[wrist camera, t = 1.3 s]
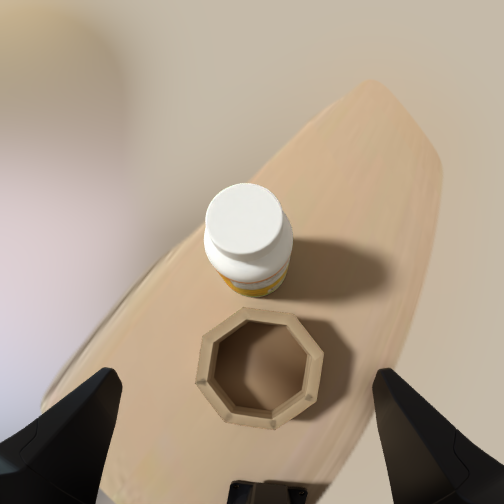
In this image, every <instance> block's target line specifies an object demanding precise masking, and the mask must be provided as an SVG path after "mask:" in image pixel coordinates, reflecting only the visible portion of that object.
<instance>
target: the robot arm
mask: <svg viewBox="0 0 504 504" xmlns="http://www.w3.org/2000/svg"><path fill="white" fill-rule="evenodd" d="M372 391H373V397H374V404H375V412H376V420H377V427H378V432H379V436H380V440H381V444H382V449H383V453H384V457H385V462H386V466H387V471H388V476H389V481H390V486H391V491H392V496H393V501H394V504H504V465H503V464H501V463H499V462H498V461H497V460H495V459H494V458H493V457H491V456H489V455H488V454H487V453H485V452H484V451H483V450H481V449H480V448H479V447H477V446H476V445H475V444H473V443H472V442H471V441H470V440H469V439H468V438H466V437H465V436H464V435H463V434H462V433H461V432H460V431H459V430H458V429H456V428H455V427H454V426H453V425H452V424H451V423H450V422H449V421H448V420H447V419H446V418H445V417H444V416H443V415H441V414H440V413H439V412H438V411H437V410H436V409H435V408H434V407H433V406H432V405H430V403H428V402H427V401H426V400H425V399H424V398H423V397H422V396H420V394H419V393H417V392H416V391H415V390H414V389H413V388H412V387H411V386H410V385H409V384H408V383H407V382H406V381H404V380H403V379H402V378H401V377H400V376H399V375H398V374H397V373H396V372H395V371H394V370H392V369H391V368H383V369H379V370H378V372H377V374H376V377H375V380H374V382H373V386H372ZM121 393H122V382H121V380H120V379H119V377H118V375H117V373H116V371H115V370H114V369H112V368H107V367H104V368H102V369H100V370H99V371H98V372H97V373H95V374H94V375H93V376H91V377H90V378H89V379H87V380H86V381H85V382H84V383H82V384H81V385H80V386H78V387H77V388H76V389H74V390H73V391H72V392H71V393H69V394H68V395H67V396H65V397H64V398H63V399H61V400H60V401H59V402H58V403H56V404H55V405H54V406H52V407H51V408H50V409H49V410H47V411H46V412H45V413H43V414H42V415H41V416H39V418H37V419H35V420H34V421H33V422H32V423H30V424H29V425H28V426H26V427H25V428H24V429H22V430H20V431H19V432H17V433H16V434H14V435H13V436H11V437H9V438H8V439H6V440H4V441H3V442H1V443H0V504H95V503H96V498H97V494H98V489H99V485H100V481H101V476H102V472H103V468H104V464H105V460H106V457H107V453H108V449H109V445H110V442H111V438H112V435H113V431H114V428H115V424H116V420H117V414H118V409H119V403H120V398H121ZM234 485H238V486H239V487H235V486H234ZM300 492H304V493H303V494H299V493H300ZM307 494H308V492H307V489H306V488H301V487H286V486H285V485H274V484H265V483H249V482H242V481H233V482H231V485H230V489H229V495H228V500H227V504H305V501H306V498H307Z"/></svg>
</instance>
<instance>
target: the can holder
mask: <svg viewBox="0 0 504 504" xmlns="http://www.w3.org/2000/svg"><path fill="white" fill-rule="evenodd" d="M323 357H324V352H323V351H322V350H321V348H320V347H319V346H318V345H317V343H316V342H315V341H314V340H313V338H312V337H311V336H310V334H309V333H308V332H307V331H306V329H305V328H304V327H303V325H302V324H301V323H300V322H299V320H298V319H297V318H296V316H295V315H294V314H290V313H282V312H274V311H267V310H260V309H253V308H246V307H243V308H241V309H240V310H239V311H237V312H236V313H234V314H233V315H232V316H230V317H229V318H227V319H226V320H225V321H223V322H222V323H220V324H219V325H218V326H216V327H215V328H213V329H212V330H210V331H209V332H208V333H206V334H205V335H203V337H202V343H201V349H200V355H199V362H198V368H197V374H196V381H195V384H196V385H197V387H198V388H199V389H200V391H201V392H202V394H203V395H204V396H205V398H206V399H207V400H208V402H209V403H210V404H211V405H212V407H213V408H214V409H215V411H216V412H217V413H218V415H219V416H220V417H221V418H222V420H223V421H224V422H226V423H231V424H237V425H242V426H249V427H255V428H262V429H270V430H276V429H277V428H279V427H280V426H282V425H283V424H285V423H286V422H288V421H289V420H291V419H292V418H294V417H295V416H297V415H298V414H300V413H301V412H302V411H304V410H305V409H307V408H308V407H309V406H311V405H312V404H313V403H315V402H316V400H317V394H318V389H319V383H320V377H321V371H322V364H323Z"/></svg>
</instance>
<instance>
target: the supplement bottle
mask: <svg viewBox="0 0 504 504" xmlns="http://www.w3.org/2000/svg"><path fill="white" fill-rule="evenodd" d="M204 246H205V251H206V254H207V256H208V259H209V260H210V262H211V264H212V265H213V267H214V268H215V269H216V270H217V272H218V273H219V274H220V276H221V277H222V278H223V279H224V281H225V282H226V283H227V285H228V286H229V287H230V288H231V289H232V290H234V291H235V292H237V293H238V294H241V295H243V296H247V297H262V296H265V295H268V294H270V293H272V292H273V291H275V290H276V289H277V288H278V287H279V286H280V285H281V284H282V282H283V280H284V279H285V276H286V274H287V270H288V266H289V261H290V256H291V251H292V247H293V232H292V227H291V224H290V221H289V219H288V217H287V216H286V214H285V213H284V212H283V210H282V207H281V204H280V202H279V201H278V199H277V198H276V196H275V195H274V194H273V193H272V192H271V191H269V190H268V189H266V188H264V187H262V186H259V185H256V184H251V183H241V184H236V185H232V186H230V187H227V188H226V189H224V190H222V191H221V192H220V193H218V194H217V196H215V197H214V199H213V200H212V201H211V203H210V205H209V207H208V209H207V213H206V229H205V234H204Z"/></svg>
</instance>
